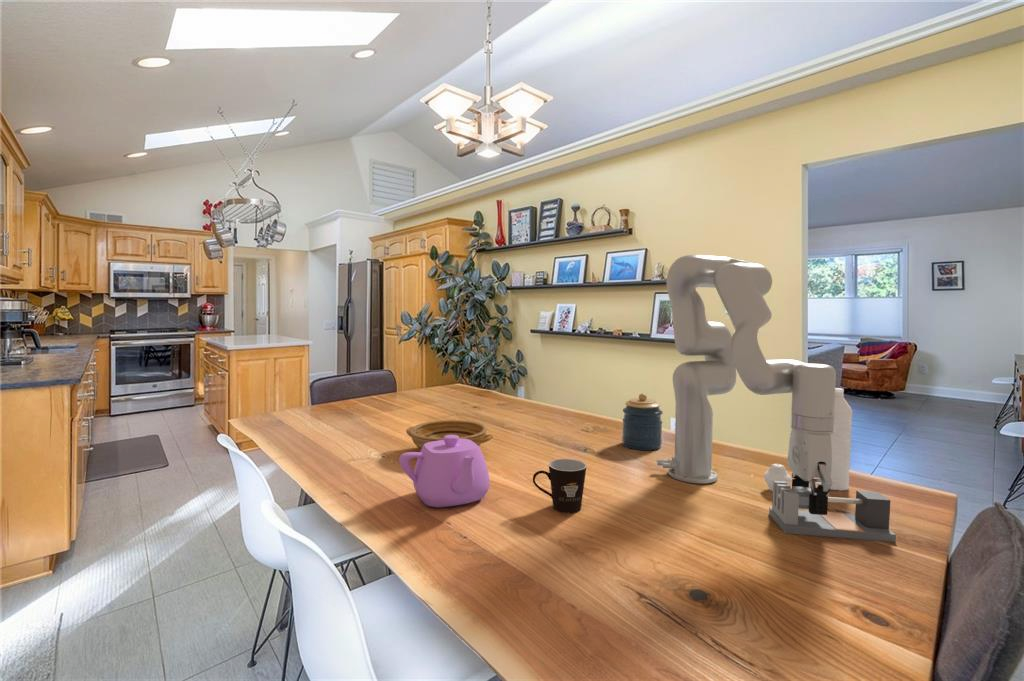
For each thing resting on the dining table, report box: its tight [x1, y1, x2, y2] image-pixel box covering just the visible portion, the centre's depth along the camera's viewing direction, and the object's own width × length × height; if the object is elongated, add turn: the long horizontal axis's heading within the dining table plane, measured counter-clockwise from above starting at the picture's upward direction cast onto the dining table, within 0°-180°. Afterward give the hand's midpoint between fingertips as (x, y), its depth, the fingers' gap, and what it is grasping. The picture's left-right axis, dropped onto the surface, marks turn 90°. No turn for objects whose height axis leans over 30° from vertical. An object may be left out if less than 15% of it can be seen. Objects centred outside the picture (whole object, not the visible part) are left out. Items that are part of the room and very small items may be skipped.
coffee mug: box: [532, 458, 587, 514], centre depth 108 cm, size 12×9×10 cm
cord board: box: [768, 481, 897, 543], centre depth 98 cm, size 20×9×8 cm, turn 80°
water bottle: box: [818, 387, 853, 492], centre depth 122 cm, size 9×6×25 cm
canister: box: [621, 393, 664, 451], centre depth 158 cm, size 13×13×18 cm
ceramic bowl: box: [406, 419, 494, 450], centre depth 148 cm, size 30×24×8 cm
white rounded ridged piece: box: [763, 463, 793, 492], centre depth 118 cm, size 6×6×7 cm
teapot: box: [398, 435, 491, 509], centre depth 110 cm, size 23×21×15 cm
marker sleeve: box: [791, 485, 812, 510], centre depth 99 cm, size 5×4×3 cm
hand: (808, 505), depth 99 cm, fingers open, 7 cm apart
